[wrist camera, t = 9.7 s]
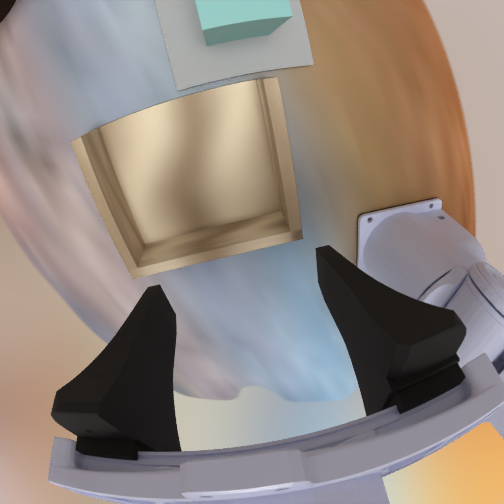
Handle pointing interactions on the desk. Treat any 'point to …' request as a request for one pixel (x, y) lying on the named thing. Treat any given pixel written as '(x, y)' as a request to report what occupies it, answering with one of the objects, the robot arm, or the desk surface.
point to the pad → (228, 46)
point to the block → (241, 18)
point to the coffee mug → (5, 7)
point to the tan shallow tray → (195, 177)
